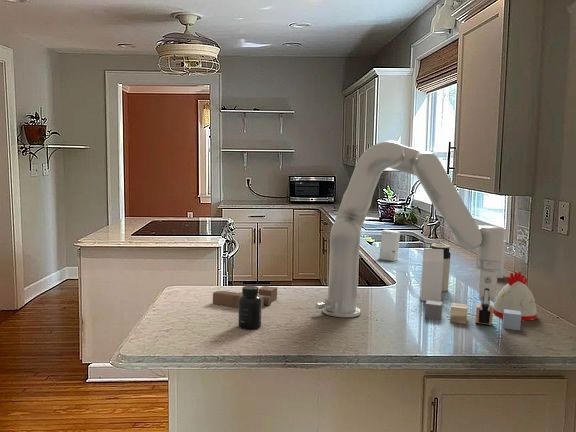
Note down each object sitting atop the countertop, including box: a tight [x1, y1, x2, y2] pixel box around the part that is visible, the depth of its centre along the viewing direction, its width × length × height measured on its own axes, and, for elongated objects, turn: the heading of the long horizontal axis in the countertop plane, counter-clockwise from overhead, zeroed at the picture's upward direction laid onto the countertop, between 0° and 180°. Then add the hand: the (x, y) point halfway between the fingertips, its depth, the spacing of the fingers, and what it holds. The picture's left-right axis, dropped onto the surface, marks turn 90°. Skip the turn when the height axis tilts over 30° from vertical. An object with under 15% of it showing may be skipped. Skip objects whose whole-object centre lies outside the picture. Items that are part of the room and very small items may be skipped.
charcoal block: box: [424, 300, 443, 321], centre depth 191 cm, size 5×5×5 cm
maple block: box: [449, 302, 469, 324], centre depth 188 cm, size 5×5×5 cm
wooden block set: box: [212, 285, 278, 309], centre depth 201 cm, size 17×6×18 cm
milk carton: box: [419, 247, 444, 302], centre depth 214 cm, size 7×7×19 cm
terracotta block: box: [475, 303, 494, 325], centre depth 186 cm, size 5×5×5 cm
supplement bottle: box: [237, 285, 263, 331], centre depth 172 cm, size 7×7×12 cm
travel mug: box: [430, 243, 451, 293], centre depth 231 cm, size 8×8×18 cm
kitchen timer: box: [492, 271, 538, 322], centre depth 197 cm, size 14×14×15 cm
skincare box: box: [379, 229, 401, 262], centre depth 294 cm, size 8×6×15 cm
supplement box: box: [478, 240, 507, 279], centre depth 263 cm, size 10×9×17 cm
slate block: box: [502, 309, 522, 331], centre depth 183 cm, size 5×5×5 cm
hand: (483, 319), depth 186 cm, fingers closed on terracotta block, 4 cm apart
